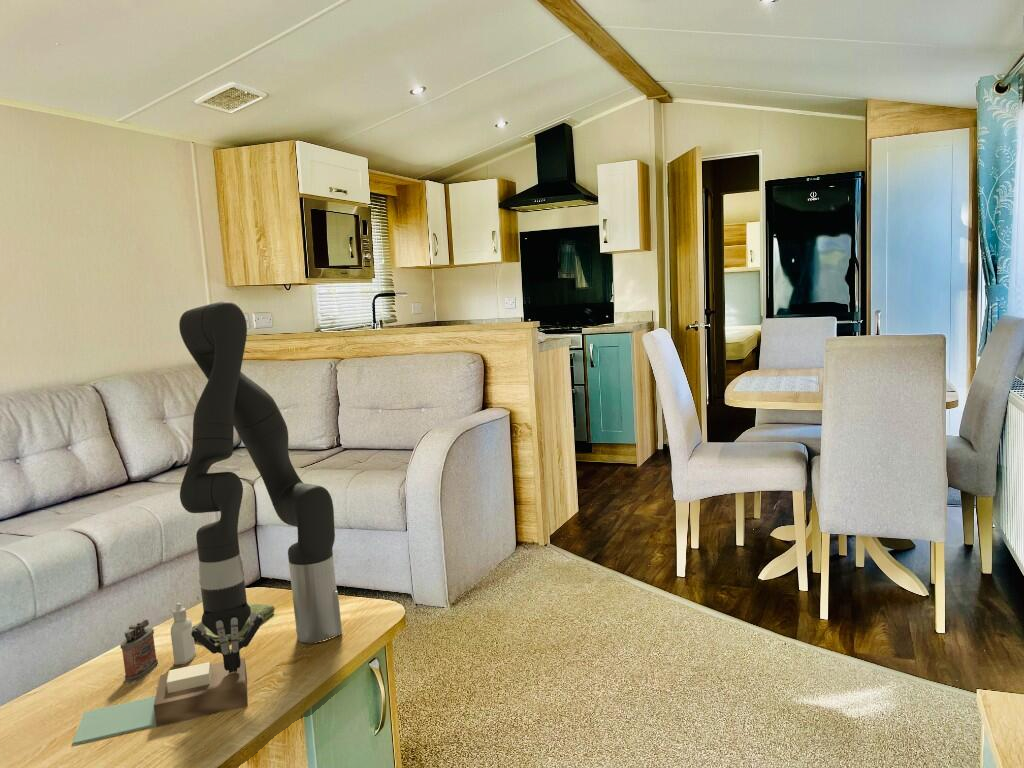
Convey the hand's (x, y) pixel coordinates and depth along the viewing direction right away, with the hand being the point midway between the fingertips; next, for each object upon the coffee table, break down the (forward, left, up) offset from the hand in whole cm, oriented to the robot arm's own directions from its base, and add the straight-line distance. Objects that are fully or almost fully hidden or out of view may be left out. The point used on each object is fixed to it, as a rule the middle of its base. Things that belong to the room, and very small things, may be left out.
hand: (233, 670), depth 142 cm
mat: (+19, 0, -4) cm, 20 cm away
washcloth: (+1, -34, -5) cm, 35 cm away
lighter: (+18, -19, -5) cm, 27 cm away
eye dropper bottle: (+10, -21, -5) cm, 24 cm away
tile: (+7, 0, 0) cm, 8 cm away
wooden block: (+5, 0, -4) cm, 7 cm away
